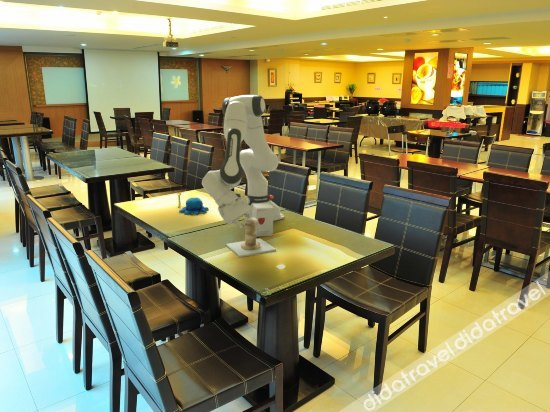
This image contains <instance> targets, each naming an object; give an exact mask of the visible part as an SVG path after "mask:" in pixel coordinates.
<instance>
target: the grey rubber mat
mask: <svg viewBox="0 0 550 412" xmlns="http://www.w3.org/2000/svg"><path fill="white" fill-rule="evenodd" d="M244 241H245V240H242V241H236V242H230V243H226V244H225V246H226V247H227V248H229V249H230V250H231V251H232V253H234V254H235V255H236V256H237V257H238V258H243V257H244V258H245V257H250V256H255V255H260V254H266V253H272V252H276V251H277V249H276V248H274V247H273V246H272V245H271V244H269V243H268V242H266V241H265V240H264V239H262V238H260V237H259V238H256V241H257V242H259V243H260V248H258V249H255V250H245V249H243V248H241V243H242V242H244Z"/></svg>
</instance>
